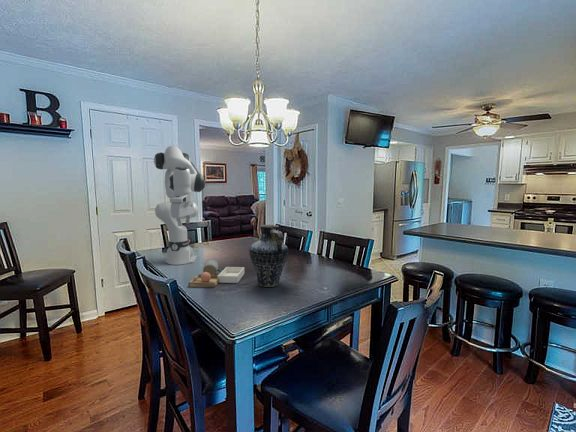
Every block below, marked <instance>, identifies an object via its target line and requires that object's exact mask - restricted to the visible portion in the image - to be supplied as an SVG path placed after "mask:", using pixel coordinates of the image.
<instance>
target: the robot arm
mask: <svg viewBox="0 0 576 432" xmlns="http://www.w3.org/2000/svg"><path fill="white" fill-rule="evenodd" d="M153 164H154V166H155V167H156V169H158V170H165V173H164V189H165V194H166V196H167V198H169V201H166V202H160V203H158V204H157V205H156V206H155V209H154V214H155V216H156V217H157V218H158V219H159V220H160V221H162V222H163V223H164V224H165V226H166V228H167V231H168V248H167V249H166V259H165V260H164V263H167V264H169V265H172V266H173V265H175V266H176V265H177V266H178V265H179V266H180V265H186V264H191V263H194V262H195V261H196V260H197V258H198V255H197V254H194V253H195V251H194V249H193V248H192V247H191V246H190V243H191V240H190V239H189V238H188V228H187V227H186V226H185V225H183V222H182V220H185V224H187V225H188V224H190V223H191V219H192V218H195V217H197V215H198V213H199V207H198V204H197V203H196V202H194V201H193V194H192V193H193V192H195V193H200V192H202V191H203V190H204V189H205V187H206V181H205V178H204V176H203V174H201V173H200V172H199V170H198V169H197V168H196V166H195V165H194V163H193V162H192V161H191V158H190V156H189V154H188V153H185V152H182V150H181V149H180V148H179V147H178V146H175V145H170V146H168V147H166V148H165V150H164V152H157V153H156V154H155V155H154V158H153Z"/></svg>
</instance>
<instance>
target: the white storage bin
mask: <svg viewBox="0 0 576 432" xmlns="http://www.w3.org/2000/svg"><path fill="white" fill-rule="evenodd" d="M244 275H245V267H243V266H242V267H241V266H226V267H225V268H224V269H222V272H220V274H219V275H218V276H217V278H219V283H218V284H220V283H221V284H223V283H224V284H225V283H226V284H227V283H228V284H238V283H239V282H240V280H241V279H242V277H243V276H244Z"/></svg>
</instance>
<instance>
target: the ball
mask: <svg viewBox="0 0 576 432" xmlns="http://www.w3.org/2000/svg"><path fill="white" fill-rule="evenodd" d="M200 275H201V280H202V281H203V282H208V281H209V280H210V279H211V275H210V273H208V272H202V273H201V274H200Z"/></svg>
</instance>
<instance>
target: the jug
mask: <svg viewBox="0 0 576 432" xmlns="http://www.w3.org/2000/svg"><path fill="white" fill-rule="evenodd" d="M259 227H260V232H261V237H260V239H258V240H257V241H255V242H254V243H252V244H251V245H250V247H249V250H248V253H249V257H250V260H251V263H252V266H253V268H254V271H255V273H256V281H257V284H258V286H260V287H269V288H271V287H272V288H273V287H276V286H278V285H280V284H279V283H280V279H281V276H282V273H283V270H284V267H285V265H286V262H287V260H288V256H289V248H288V246H287V245H286V244H285V243H284V240H285V239H284V238H285V237H284V234H283V232H282V231H279V227H280V226H279V225H277V224H263V225H260V226H259Z"/></svg>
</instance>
